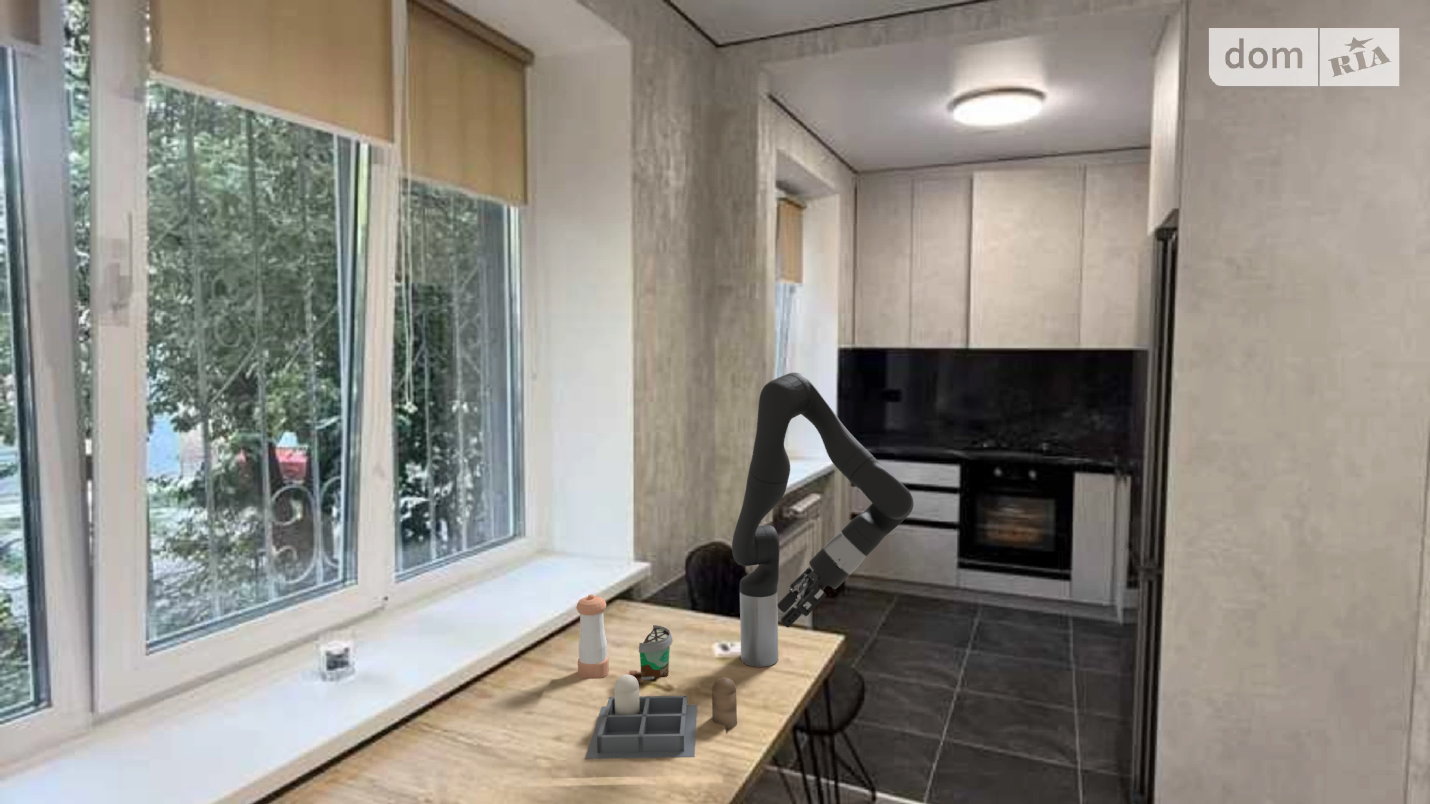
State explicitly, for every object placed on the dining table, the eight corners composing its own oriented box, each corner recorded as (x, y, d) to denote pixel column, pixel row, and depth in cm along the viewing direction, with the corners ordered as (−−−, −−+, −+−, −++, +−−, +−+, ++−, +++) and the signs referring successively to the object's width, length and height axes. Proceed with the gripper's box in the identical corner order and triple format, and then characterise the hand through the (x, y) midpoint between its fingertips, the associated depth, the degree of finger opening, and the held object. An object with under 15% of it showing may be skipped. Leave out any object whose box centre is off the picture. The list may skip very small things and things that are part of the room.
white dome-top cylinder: (617, 714, 156) (615, 670, 155) (641, 714, 156) (639, 670, 155) (613, 726, 151) (612, 681, 150) (638, 726, 151) (637, 680, 150)
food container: (665, 688, 170) (664, 645, 169) (639, 686, 171) (638, 643, 170) (679, 665, 182) (678, 625, 181) (654, 663, 183) (653, 624, 182)
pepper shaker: (572, 677, 177) (569, 597, 175) (588, 665, 183) (586, 588, 182) (598, 681, 174) (596, 601, 172) (614, 669, 181) (612, 591, 179)
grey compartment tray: (601, 710, 160) (601, 692, 159) (697, 709, 160) (696, 690, 159) (585, 763, 139) (584, 743, 139) (694, 761, 139) (694, 741, 139)
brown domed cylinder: (712, 717, 156) (711, 673, 155) (736, 717, 156) (735, 672, 155) (712, 729, 151) (711, 684, 150) (737, 729, 151) (736, 683, 150)
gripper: (819, 538, 158) (766, 592, 159) (829, 556, 144) (771, 616, 145) (845, 562, 158) (791, 616, 159) (857, 583, 144) (799, 642, 145)
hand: (782, 616), depth 152 cm, fingers open, 8 cm apart
